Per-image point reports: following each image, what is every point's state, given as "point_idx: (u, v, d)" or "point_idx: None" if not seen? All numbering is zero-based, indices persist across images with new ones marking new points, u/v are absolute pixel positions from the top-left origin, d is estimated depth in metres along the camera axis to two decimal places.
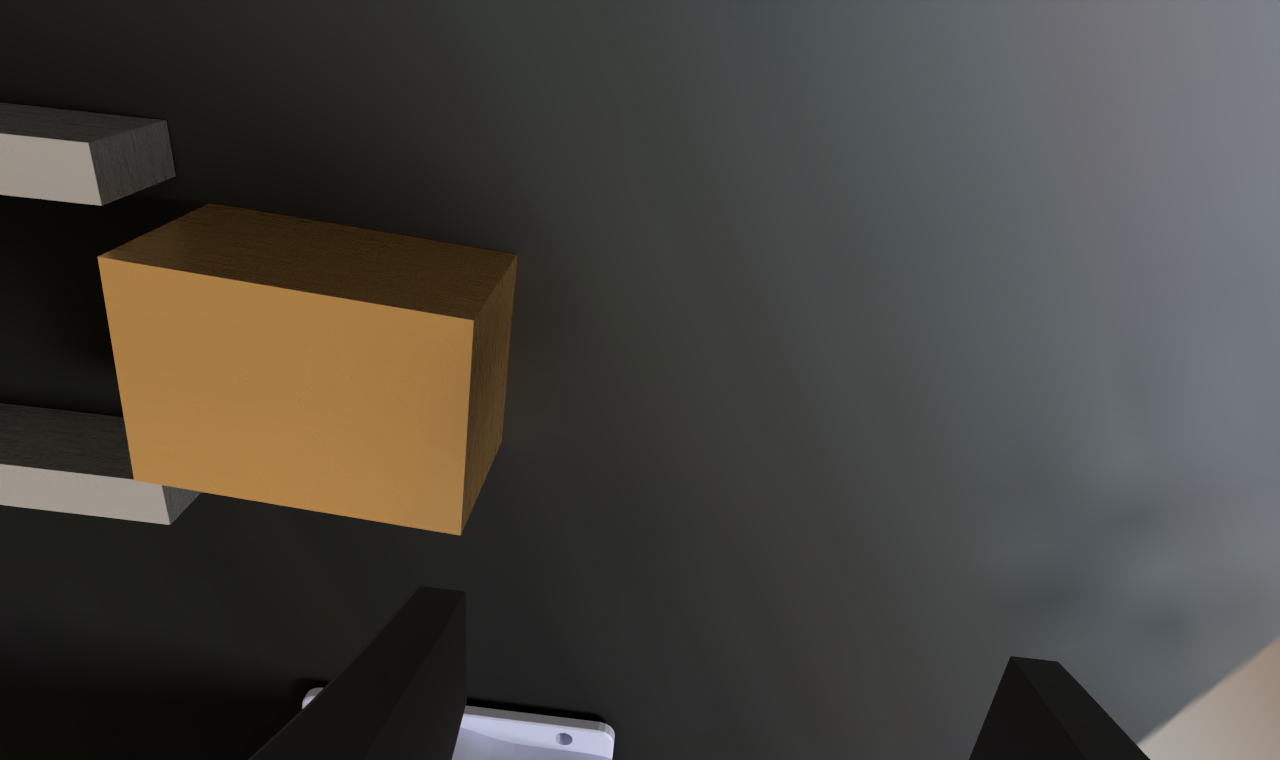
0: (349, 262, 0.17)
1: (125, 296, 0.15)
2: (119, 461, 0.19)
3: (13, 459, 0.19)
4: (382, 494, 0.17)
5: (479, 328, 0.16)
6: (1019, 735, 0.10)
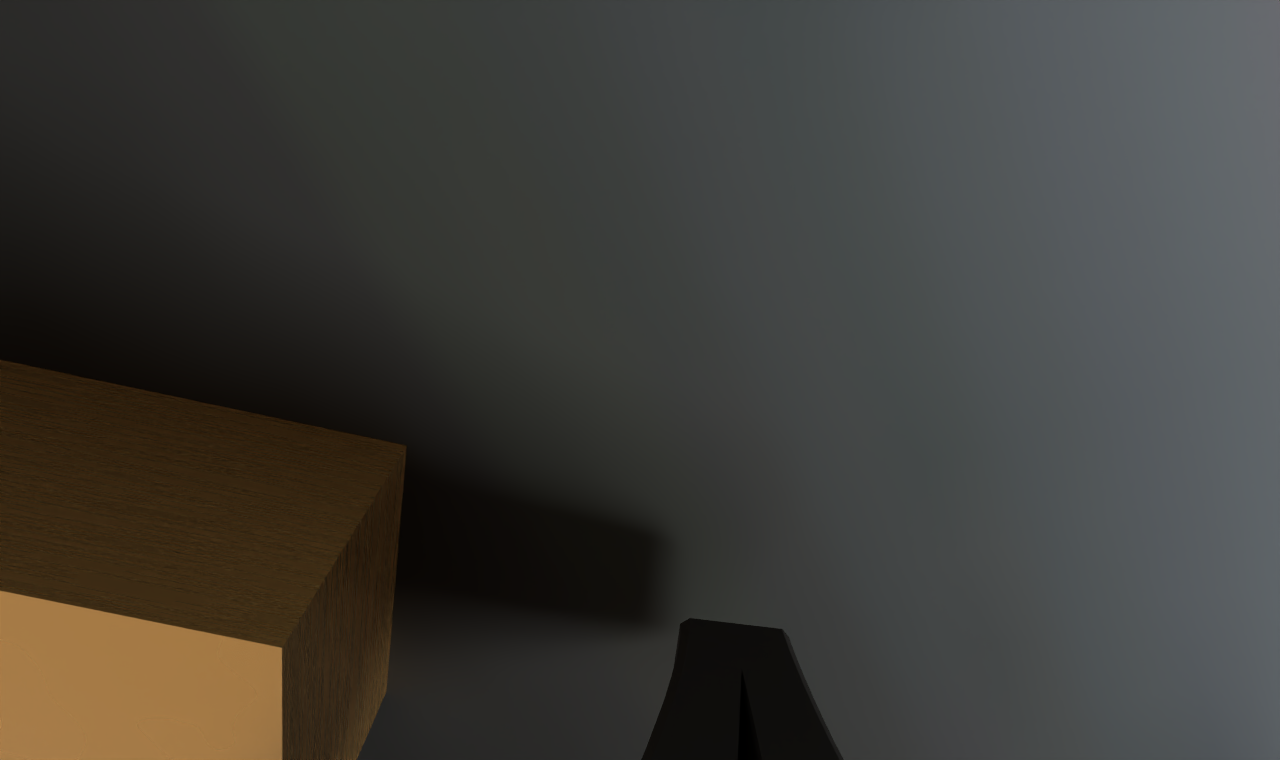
0: (96, 485, 0.10)
1: None
2: None
3: None
4: None
5: (304, 637, 0.09)
6: None
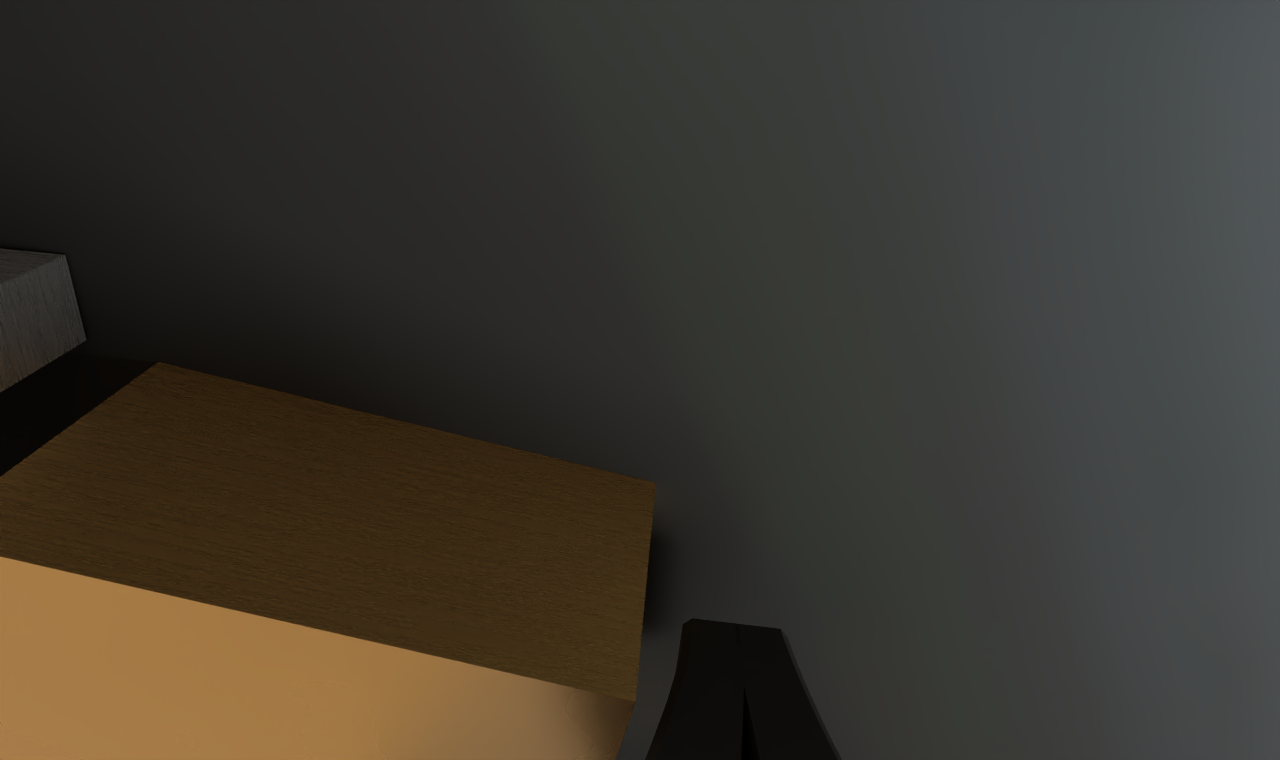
0: (394, 523, 0.09)
1: None
2: None
3: None
4: None
5: None
6: None
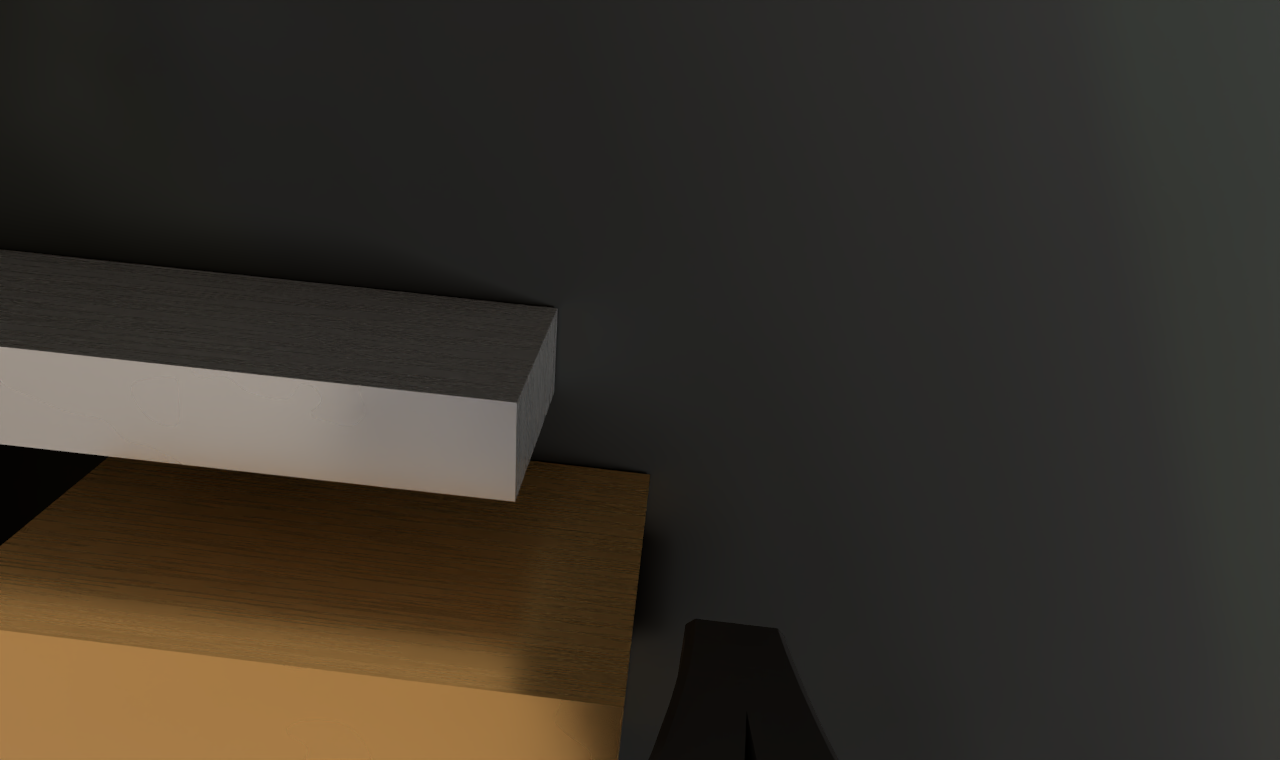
0: (378, 553, 0.09)
1: None
2: None
3: None
4: None
5: None
6: None
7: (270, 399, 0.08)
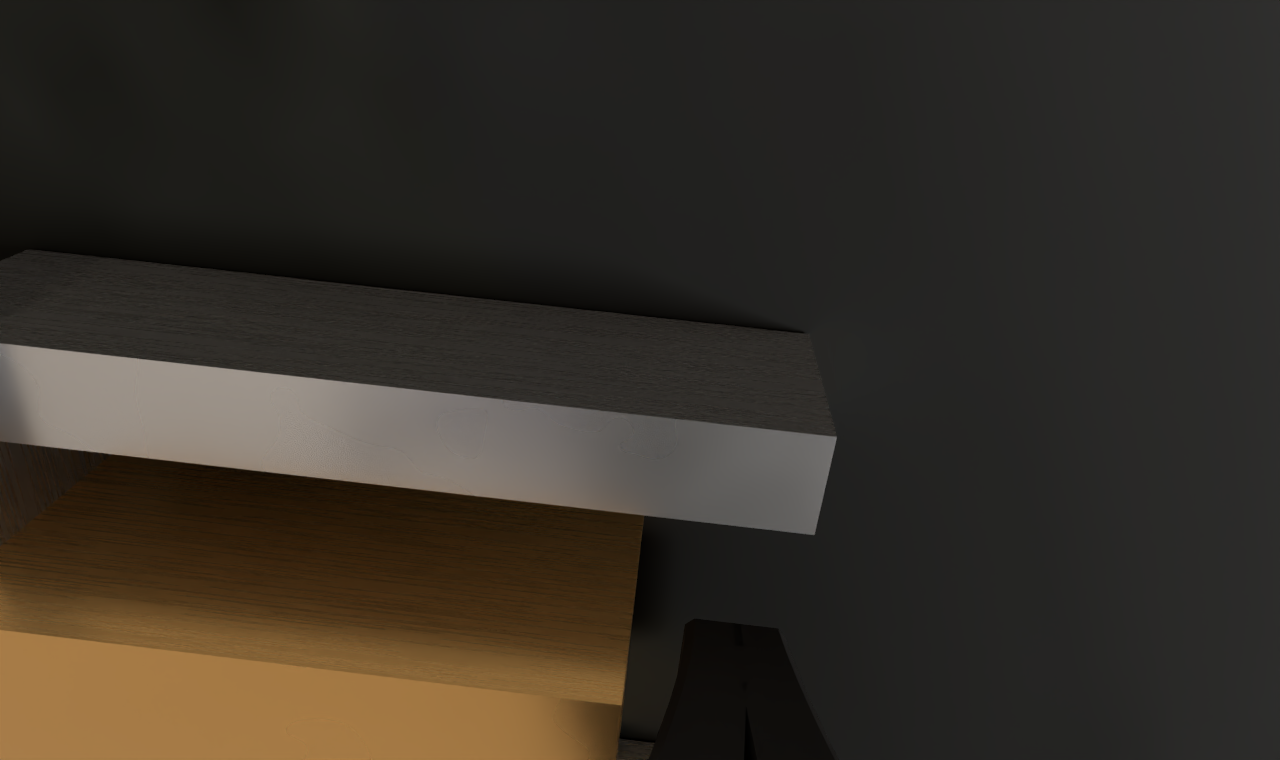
0: (377, 553, 0.09)
1: None
2: None
3: None
4: None
5: (623, 691, 0.08)
6: None
7: (580, 432, 0.08)
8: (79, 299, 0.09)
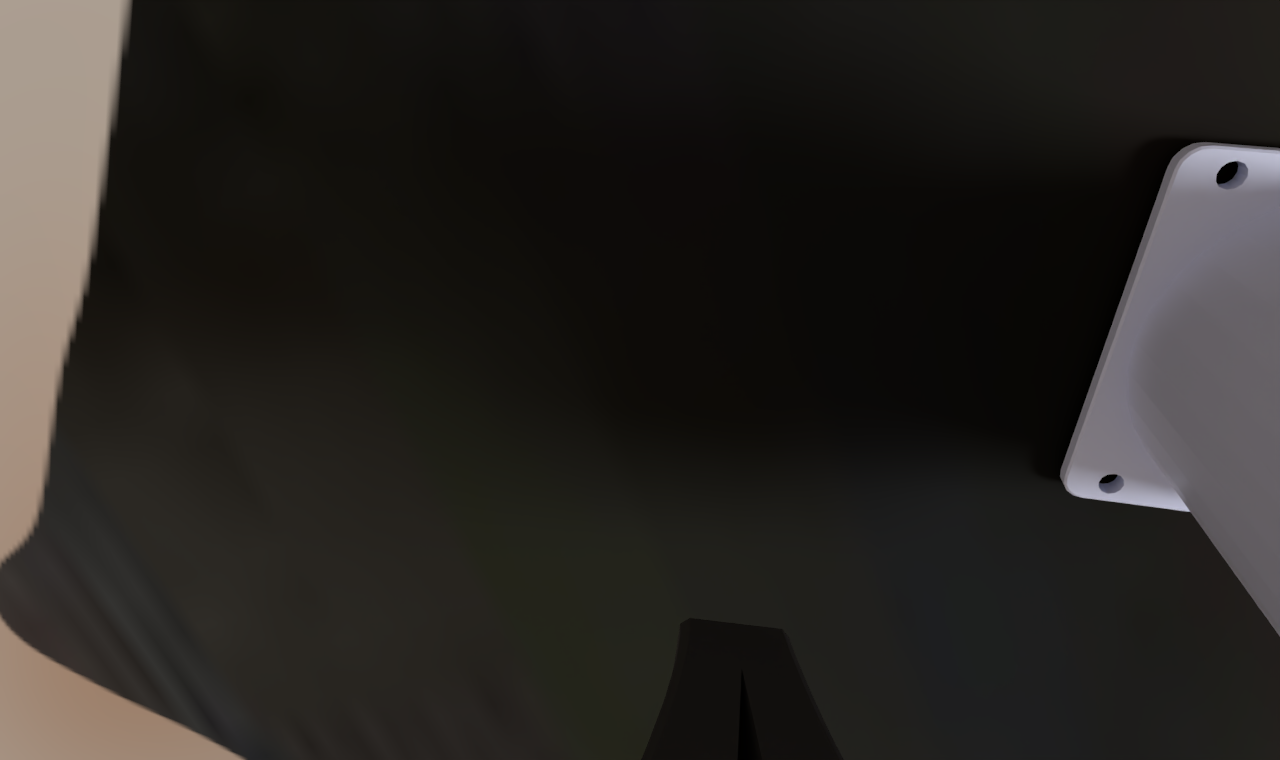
0: None
1: None
2: None
3: None
4: None
5: None
6: None
7: None
8: None
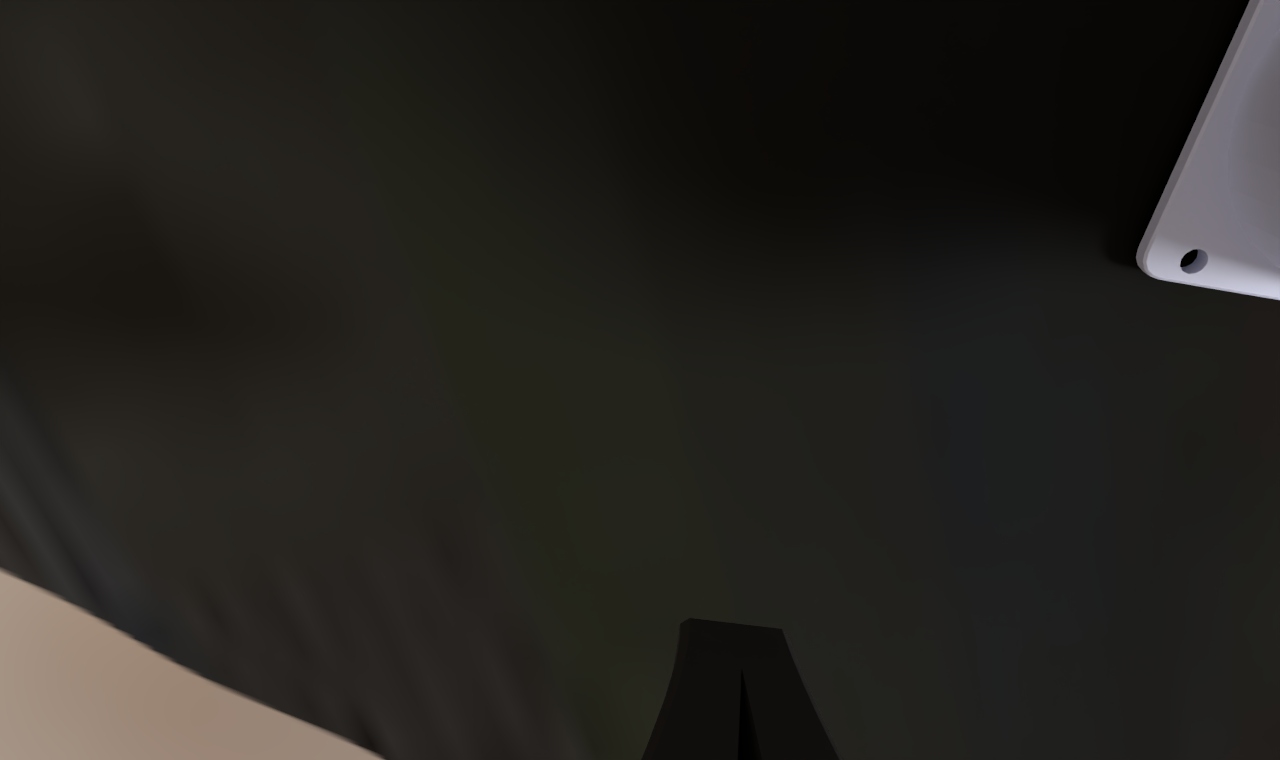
0: None
1: None
2: None
3: None
4: None
5: None
6: None
7: None
8: None
